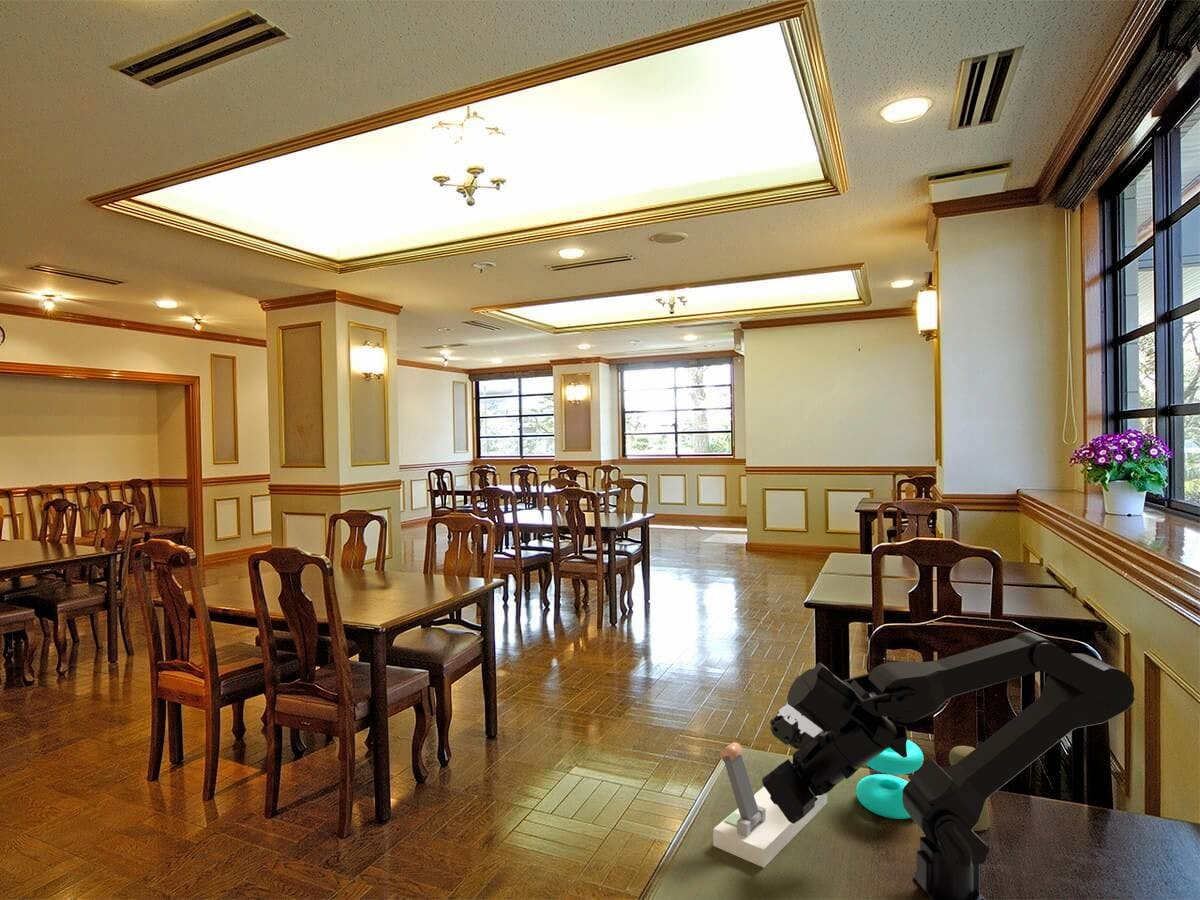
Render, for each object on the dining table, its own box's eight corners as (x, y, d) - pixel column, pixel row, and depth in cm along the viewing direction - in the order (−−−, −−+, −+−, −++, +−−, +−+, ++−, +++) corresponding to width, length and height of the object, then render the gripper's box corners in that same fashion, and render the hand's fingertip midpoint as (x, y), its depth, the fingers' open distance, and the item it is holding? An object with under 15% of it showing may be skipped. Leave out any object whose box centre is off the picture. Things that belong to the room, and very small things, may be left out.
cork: (996, 833, 102) (996, 760, 102) (952, 829, 104) (952, 756, 103) (982, 812, 108) (982, 742, 108) (941, 808, 109) (941, 739, 109)
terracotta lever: (764, 821, 100) (739, 741, 103) (754, 830, 98) (729, 748, 101) (752, 821, 102) (728, 742, 104) (742, 830, 99) (718, 749, 102)
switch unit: (827, 802, 111) (827, 776, 111) (763, 867, 95) (763, 836, 94) (781, 786, 116) (781, 761, 116) (713, 845, 100) (713, 816, 100)
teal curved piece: (918, 734, 114) (928, 761, 104) (918, 794, 114) (928, 827, 104) (854, 727, 117) (857, 753, 107) (854, 786, 117) (858, 816, 107)
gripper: (834, 673, 101) (767, 728, 109) (775, 712, 87) (702, 772, 95) (890, 741, 96) (815, 794, 104) (836, 794, 82) (755, 851, 90)
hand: (773, 800), depth 98 cm, fingers closed
